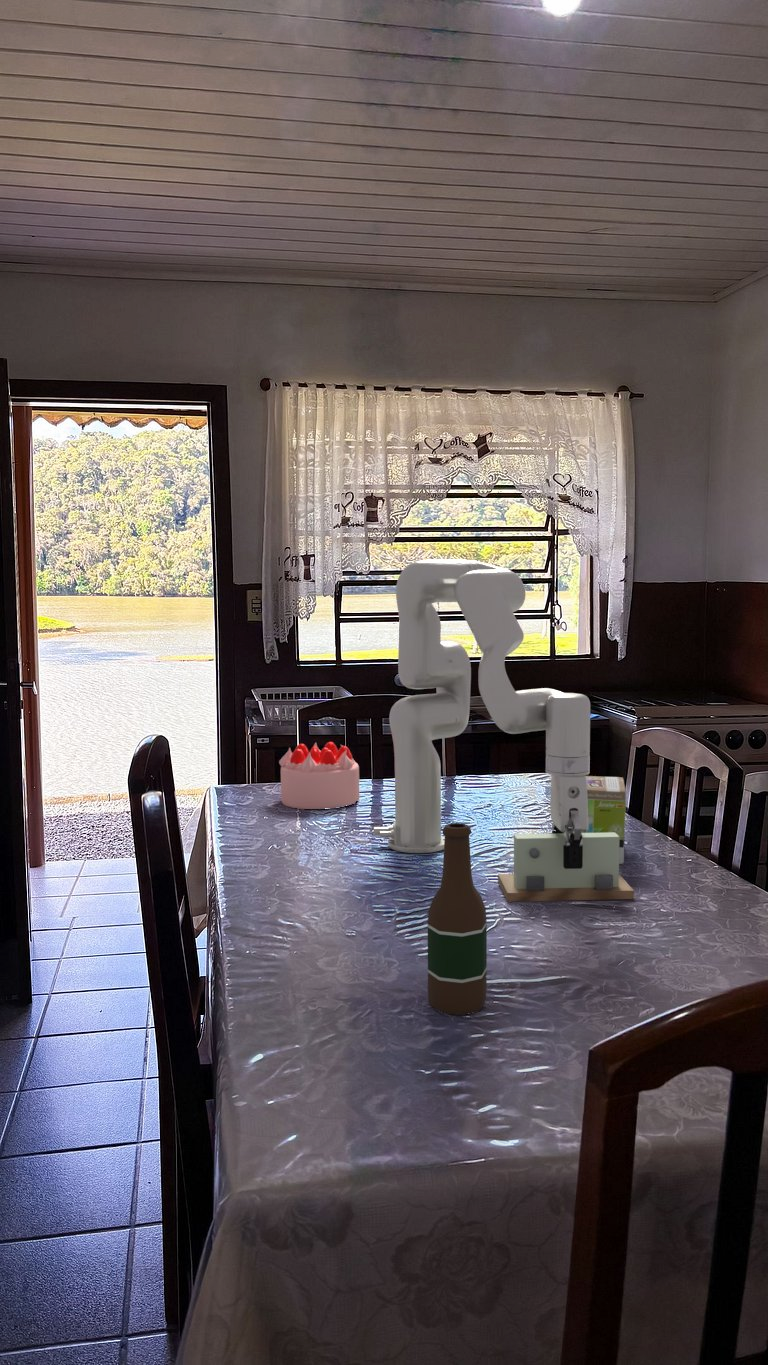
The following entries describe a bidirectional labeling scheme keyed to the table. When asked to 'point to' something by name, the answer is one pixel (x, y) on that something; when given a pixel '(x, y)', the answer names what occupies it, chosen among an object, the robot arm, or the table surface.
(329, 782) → the cake
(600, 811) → the tea box
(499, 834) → the table surface
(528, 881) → the hinge clips
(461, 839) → the beer bottle
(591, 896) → the cabinet side
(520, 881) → the door
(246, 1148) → the table surface
